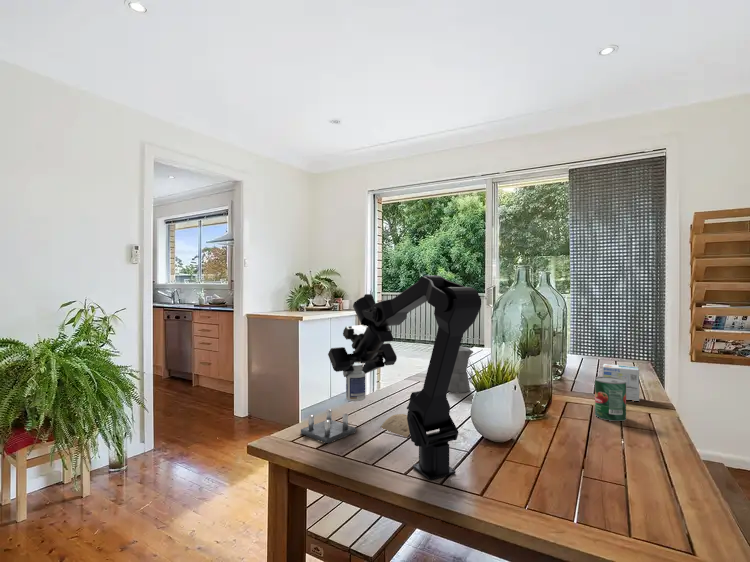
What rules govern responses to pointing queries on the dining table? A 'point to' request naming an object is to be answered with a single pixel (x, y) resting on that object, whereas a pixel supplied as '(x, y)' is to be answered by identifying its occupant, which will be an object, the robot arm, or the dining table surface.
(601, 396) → the canned tomato
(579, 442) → the dining table surface
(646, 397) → the dining table surface
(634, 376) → the light bulb box
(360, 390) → the pill bottle
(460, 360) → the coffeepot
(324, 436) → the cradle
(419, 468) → the robot arm
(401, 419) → the clay tablet
